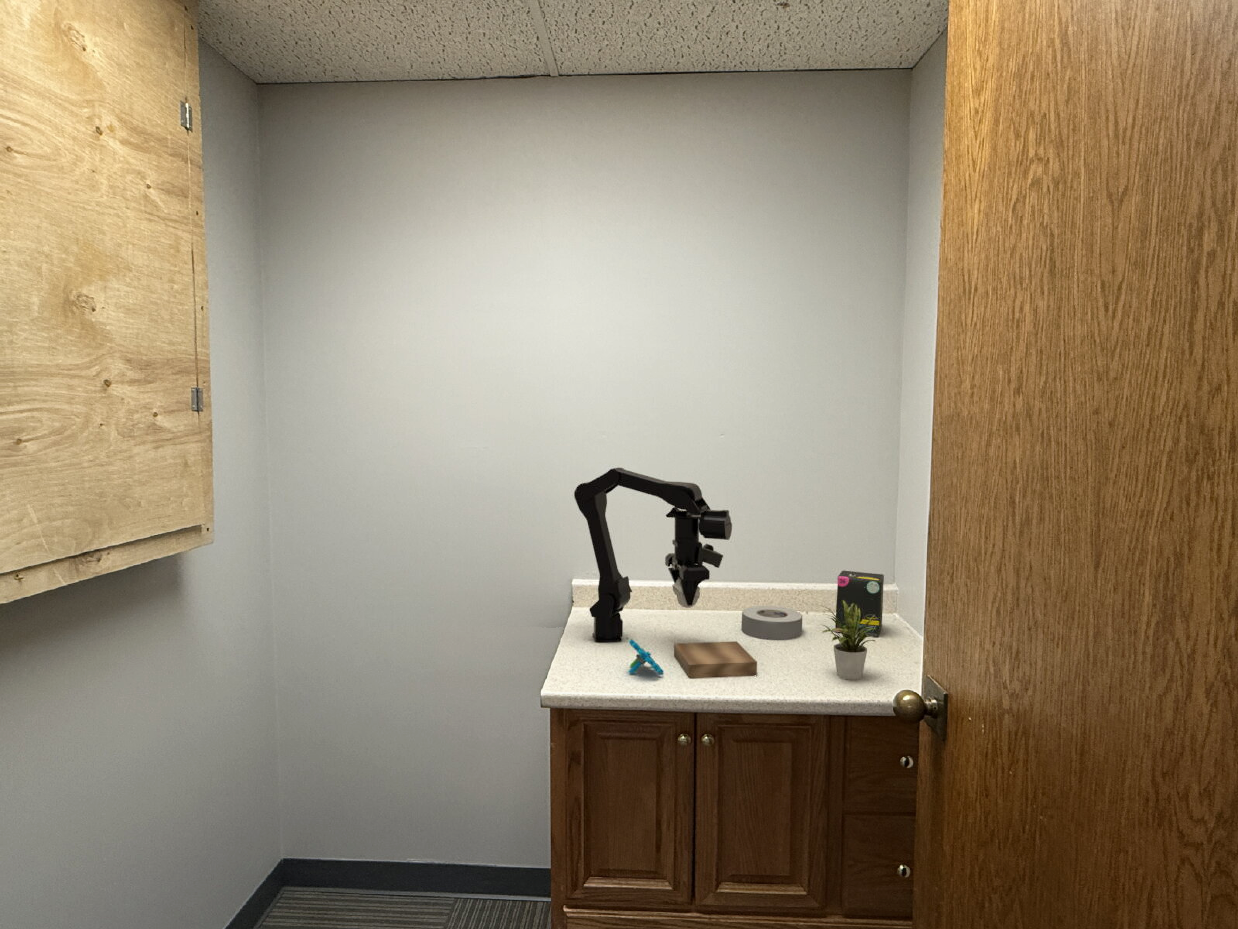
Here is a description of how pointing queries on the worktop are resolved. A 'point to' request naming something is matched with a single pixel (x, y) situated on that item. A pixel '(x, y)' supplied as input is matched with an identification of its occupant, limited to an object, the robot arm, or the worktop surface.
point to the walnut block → (714, 659)
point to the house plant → (849, 644)
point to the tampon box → (861, 599)
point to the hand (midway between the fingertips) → (686, 602)
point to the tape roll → (771, 623)
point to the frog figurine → (680, 595)
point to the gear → (642, 659)
